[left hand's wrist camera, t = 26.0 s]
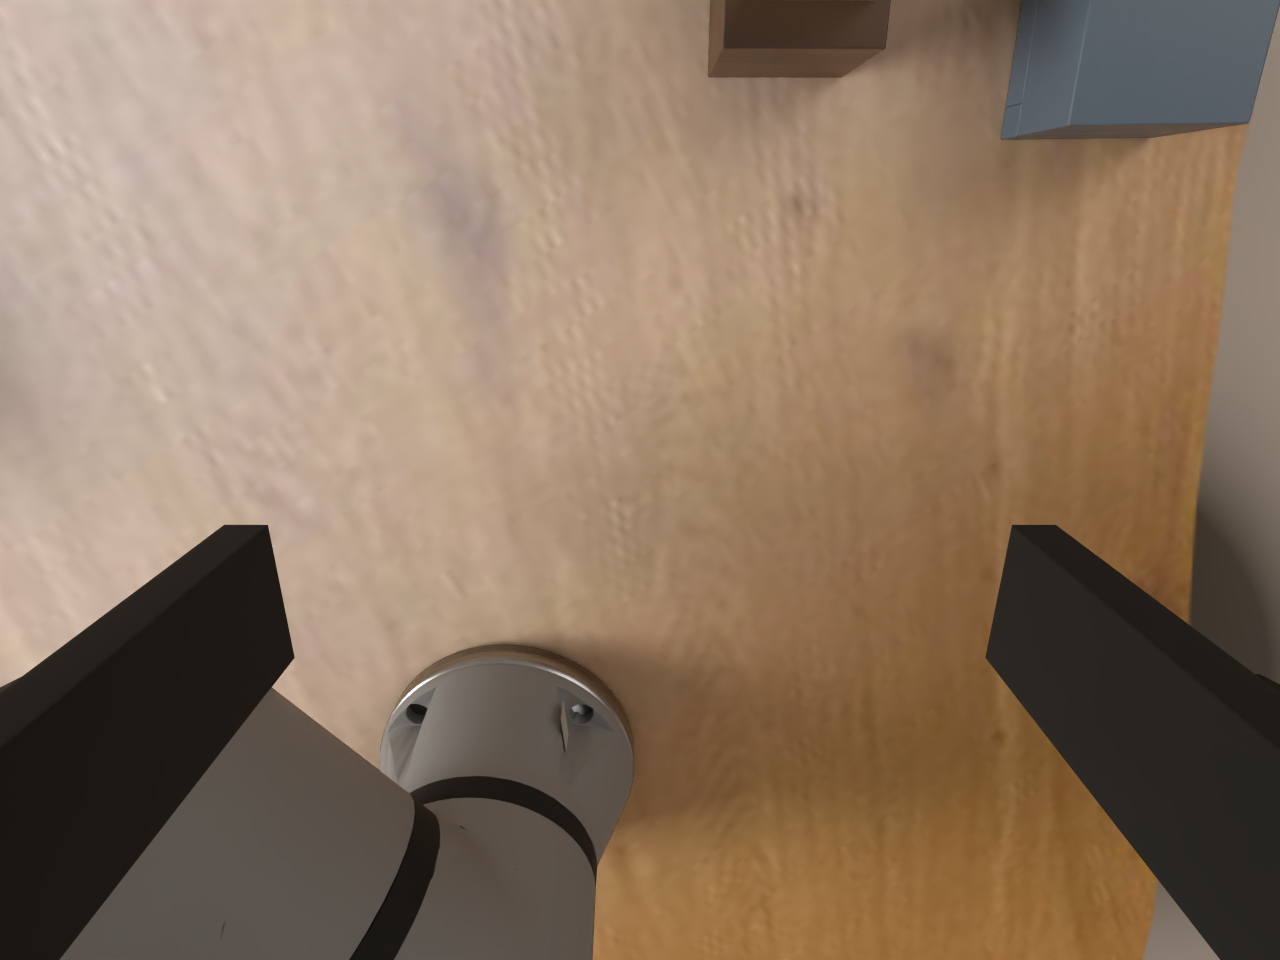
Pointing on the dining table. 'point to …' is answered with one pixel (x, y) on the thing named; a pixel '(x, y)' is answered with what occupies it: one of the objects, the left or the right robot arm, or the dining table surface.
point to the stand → (794, 36)
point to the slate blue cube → (1135, 67)
